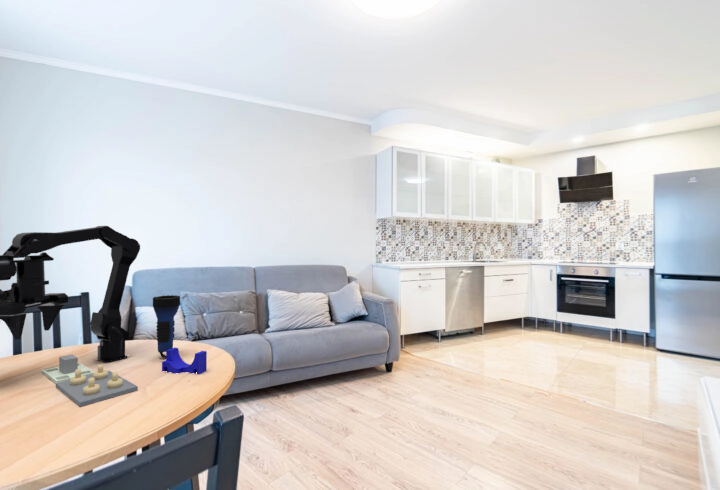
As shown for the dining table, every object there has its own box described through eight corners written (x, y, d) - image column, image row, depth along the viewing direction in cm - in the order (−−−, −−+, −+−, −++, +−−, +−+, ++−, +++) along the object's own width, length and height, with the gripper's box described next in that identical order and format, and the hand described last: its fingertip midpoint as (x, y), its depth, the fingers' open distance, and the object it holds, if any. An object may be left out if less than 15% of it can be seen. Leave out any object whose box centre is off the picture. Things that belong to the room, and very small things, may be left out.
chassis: (109, 374, 104) (109, 358, 104) (137, 390, 92) (137, 372, 92) (55, 387, 94) (55, 369, 94) (80, 406, 83) (80, 387, 83)
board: (78, 365, 111) (78, 349, 111) (94, 375, 103) (95, 358, 103) (42, 372, 105) (42, 356, 105) (56, 384, 96) (56, 366, 96)
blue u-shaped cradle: (161, 372, 106) (162, 351, 106) (174, 367, 110) (174, 347, 110) (194, 376, 102) (195, 355, 102) (206, 371, 107) (206, 351, 107)
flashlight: (176, 361, 116) (176, 298, 116) (148, 362, 114) (149, 298, 114) (182, 353, 124) (182, 294, 124) (156, 355, 122) (157, 295, 122)
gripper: (30, 275, 109) (32, 326, 109) (-36, 283, 90) (-33, 345, 90) (68, 274, 109) (70, 326, 109) (10, 282, 90) (13, 344, 91)
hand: (32, 334), depth 100 cm, fingers open, 9 cm apart
